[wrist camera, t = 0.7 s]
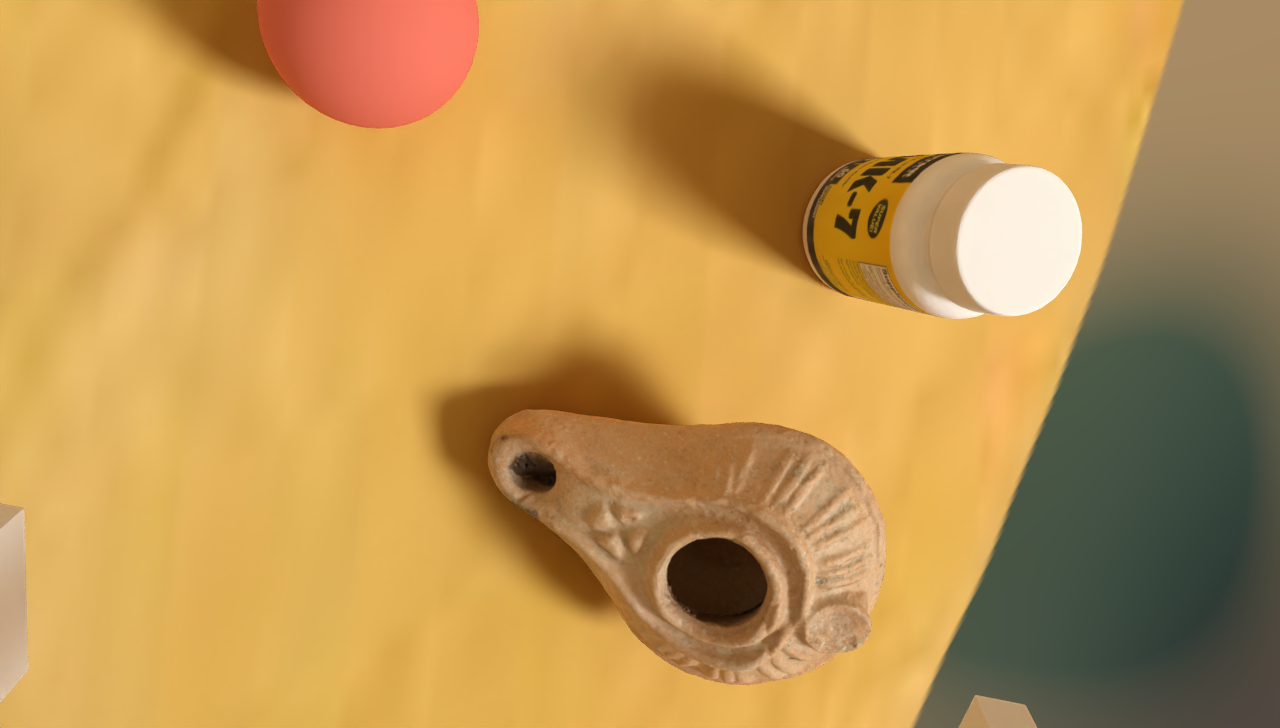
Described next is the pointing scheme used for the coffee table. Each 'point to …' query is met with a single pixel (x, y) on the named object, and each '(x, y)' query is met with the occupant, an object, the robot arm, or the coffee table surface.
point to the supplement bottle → (944, 234)
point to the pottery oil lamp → (707, 534)
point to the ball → (371, 55)
